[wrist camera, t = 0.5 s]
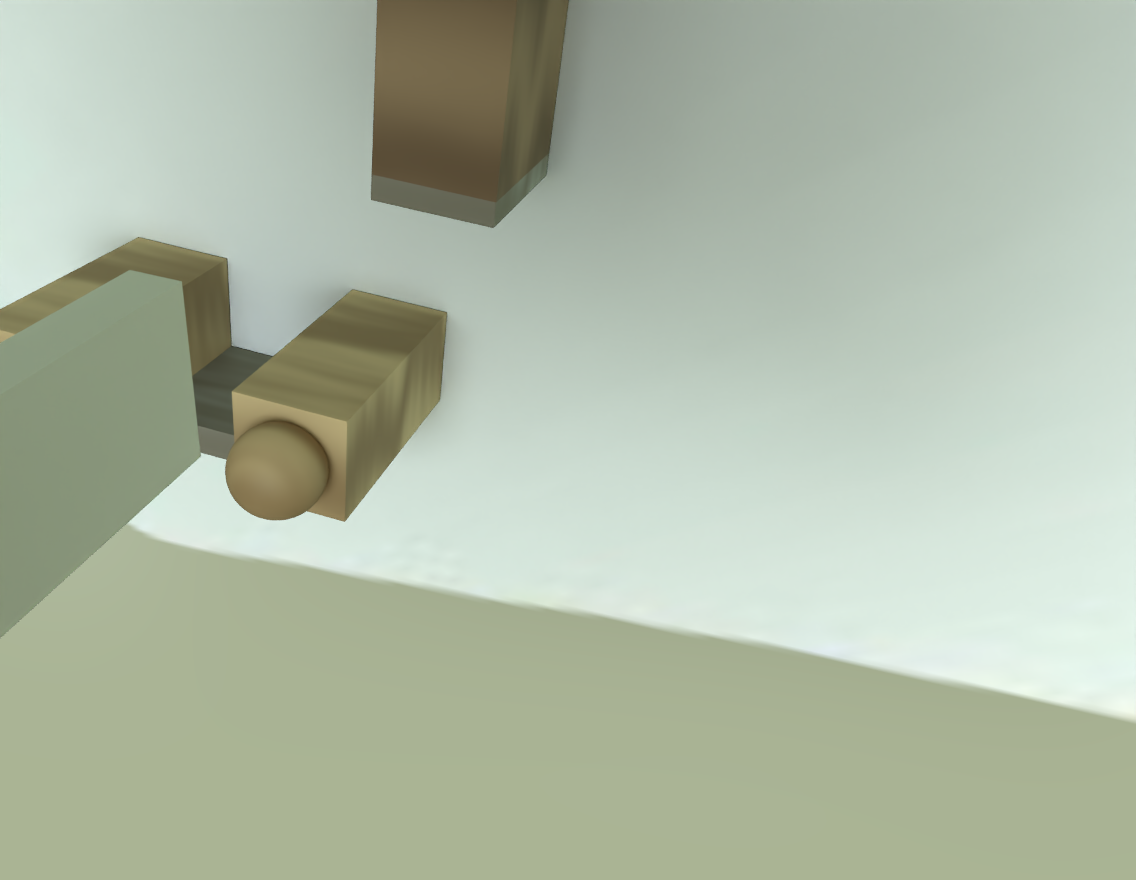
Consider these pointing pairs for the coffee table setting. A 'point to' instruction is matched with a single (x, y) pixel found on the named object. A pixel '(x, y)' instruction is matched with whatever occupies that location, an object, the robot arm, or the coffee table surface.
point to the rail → (464, 103)
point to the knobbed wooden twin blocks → (284, 382)
